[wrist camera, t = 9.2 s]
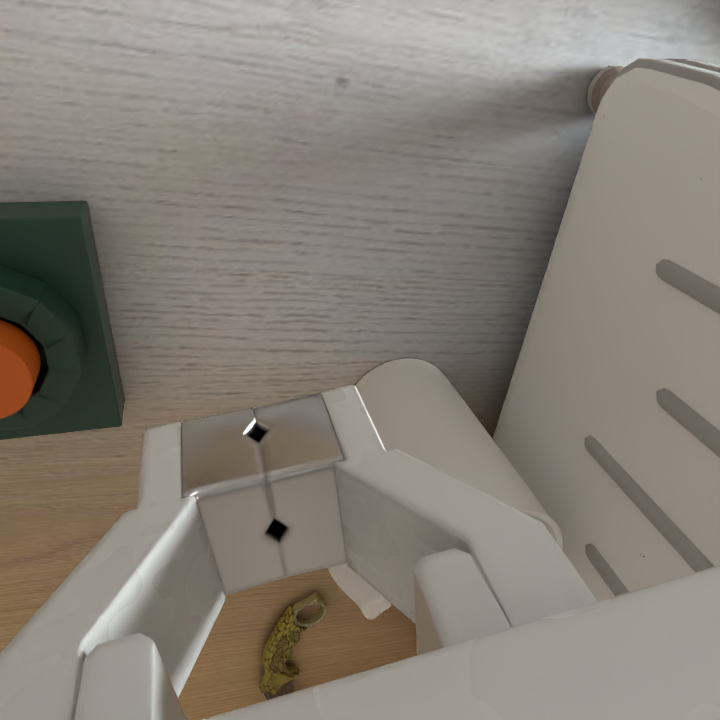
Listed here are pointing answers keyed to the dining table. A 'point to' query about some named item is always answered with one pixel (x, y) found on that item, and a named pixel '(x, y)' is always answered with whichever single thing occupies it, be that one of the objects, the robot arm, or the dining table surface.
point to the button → (16, 368)
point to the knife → (286, 648)
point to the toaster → (630, 338)
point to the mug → (434, 449)
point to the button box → (59, 318)
